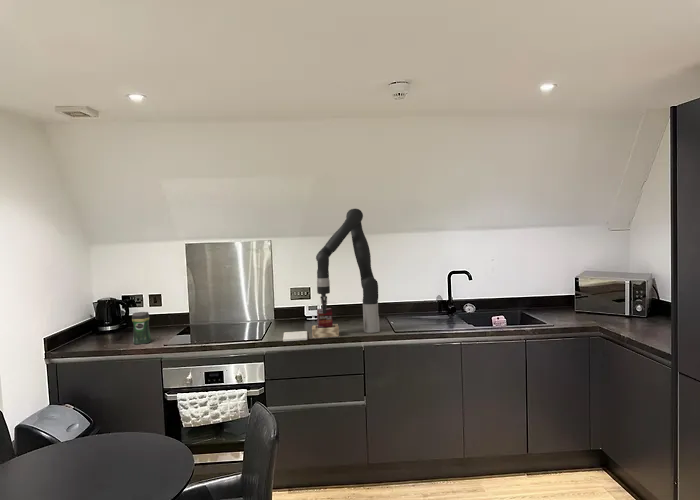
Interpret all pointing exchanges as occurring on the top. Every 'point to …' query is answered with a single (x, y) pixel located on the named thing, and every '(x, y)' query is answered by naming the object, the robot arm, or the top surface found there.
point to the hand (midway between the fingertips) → (324, 312)
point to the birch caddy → (325, 331)
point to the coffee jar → (141, 327)
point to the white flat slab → (295, 336)
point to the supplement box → (324, 318)
